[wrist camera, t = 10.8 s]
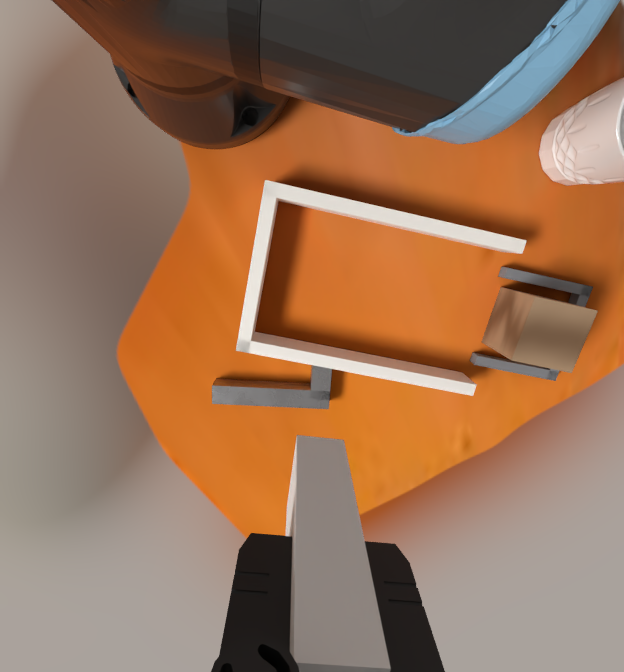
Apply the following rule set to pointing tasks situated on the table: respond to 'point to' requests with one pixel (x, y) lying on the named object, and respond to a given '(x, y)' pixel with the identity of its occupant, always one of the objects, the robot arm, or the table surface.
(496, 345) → the walnut cube
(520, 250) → the cubby
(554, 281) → the grey bracket
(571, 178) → the white cup
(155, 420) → the table surface
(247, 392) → the crook tool
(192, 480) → the table surface
